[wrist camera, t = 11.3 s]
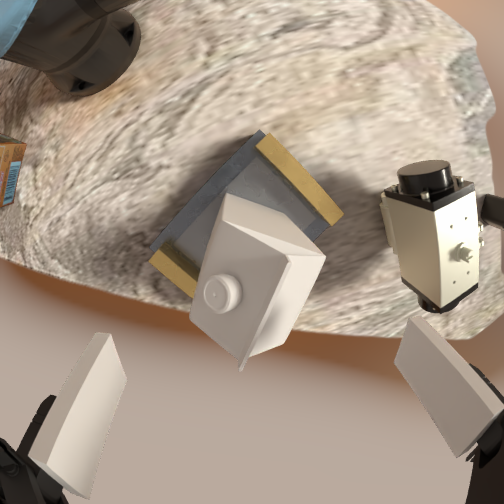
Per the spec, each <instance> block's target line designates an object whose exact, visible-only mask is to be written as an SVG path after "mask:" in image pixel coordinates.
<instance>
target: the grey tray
mask: <svg viewBox="0 0 504 504" xmlns="http://www.w3.org/2000/svg"><path fill="white" fill-rule="evenodd" d="M226 193H229V194H232V195H235V196H237V197H240V198H243V199H246V200H249V201H252V202H254V203H257V204H260V205H263V206H266V207H268V208H271V209H274V210H276V211H279V212H282V213H284V214H285V215H286V216H287V217H288V218H289V219H290V220H291V221H292V222H293V223H294V224H295V225H296V226H297V227H298V228H299V229H300V230H301V231H302V232H303V233H304V234H305V235H306V236H307V237H308V238H309V239H310V240H311V241H312V242H313V241H314V240H315V239H316V238H317V237H318V236H319V235H320V234H321V233H322V232H323V231H324V230H325V229H326V228H327V227H328V226H329V225H331V226H333V225H334V224H335V223H336V222H337V221H338V220H339V219H340V218H341V217H342V216H343V215H344V213H343V212H342V211H341V209H340V208H339V207H338V206H337V205H336V204H335V202H334V201H333V200H332V199H331V198H330V197H329V195H328V194H327V193H326V192H325V191H324V190H323V189H322V187H321V186H320V185H319V184H318V183H317V182H316V181H315V180H314V178H313V177H312V176H311V175H310V174H309V173H308V172H307V171H306V170H305V169H304V168H303V167H302V165H301V164H300V163H299V162H298V161H297V160H296V159H295V158H294V157H293V156H292V155H291V154H290V153H289V152H288V151H287V150H286V149H285V148H284V147H283V146H282V145H281V144H280V143H279V142H278V141H277V140H276V139H275V138H274V137H273V136H272V135H271V134H270V133H269V134H267V135H265V134H264V133H263V132H262V131H261V130H260V129H259V130H258V131H257V132H256V133H255V134H254V135H253V136H252V137H251V138H250V139H249V140H248V141H247V142H246V143H245V144H244V145H243V146H242V147H241V148H240V149H239V150H238V151H237V152H236V153H235V154H234V155H233V156H232V157H231V158H230V159H229V160H228V161H227V162H226V163H225V164H224V165H223V166H222V167H221V168H220V169H219V170H218V171H217V172H216V173H215V174H214V175H213V176H212V177H211V178H210V179H209V180H208V181H207V182H206V183H205V184H204V185H203V187H202V188H201V189H200V190H199V191H198V192H197V193H196V194H195V195H194V196H193V197H192V198H191V200H190V201H189V202H188V203H187V204H186V205H185V206H184V207H183V208H182V210H181V211H180V212H179V213H178V214H177V215H176V216H175V217H174V219H173V220H172V221H171V222H170V223H169V224H168V226H167V227H166V228H165V229H164V230H163V231H162V233H161V234H160V235H159V236H158V237H157V238H156V240H155V241H154V242H153V243H152V244H151V246H150V247H149V248H150V249H151V250H152V251H153V252H155V254H154V255H153V256H152V257H151V259H150V260H149V261H148V262H149V263H151V264H152V265H153V266H154V267H155V268H156V269H157V270H159V271H160V272H161V273H162V274H163V275H164V276H166V277H167V278H168V279H169V280H170V281H172V282H173V283H174V284H175V285H176V286H178V287H179V288H180V289H181V290H182V291H184V292H185V293H186V294H187V295H189V296H190V297H191V298H192V299H193V297H194V293H195V289H196V286H197V282H198V278H199V274H200V270H201V267H202V263H203V259H204V256H205V252H206V248H207V245H208V242H209V239H210V236H211V233H212V230H213V227H214V224H215V221H216V218H217V215H218V212H219V210H220V207H221V204H222V201H223V198H224V196H225V194H226Z"/></svg>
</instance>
